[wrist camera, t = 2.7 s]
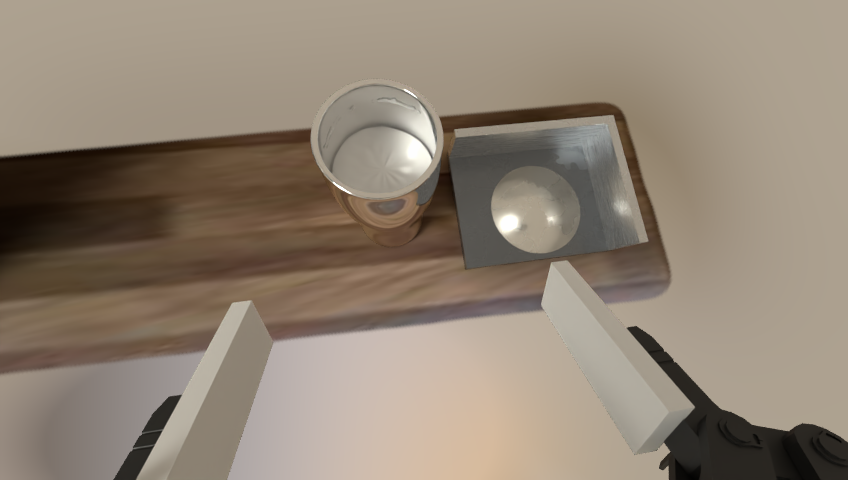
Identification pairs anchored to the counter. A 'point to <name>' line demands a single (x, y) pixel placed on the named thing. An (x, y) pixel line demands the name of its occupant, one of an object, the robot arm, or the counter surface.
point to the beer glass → (380, 156)
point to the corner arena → (542, 191)
